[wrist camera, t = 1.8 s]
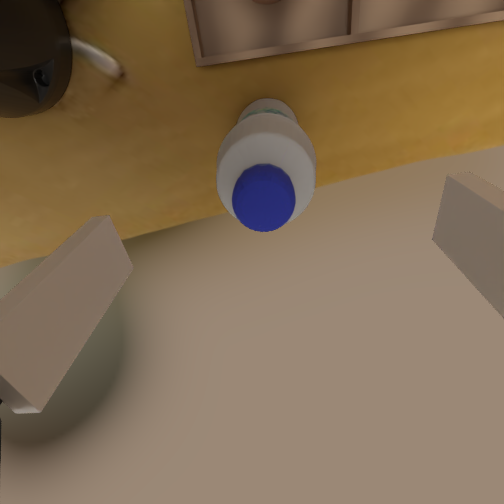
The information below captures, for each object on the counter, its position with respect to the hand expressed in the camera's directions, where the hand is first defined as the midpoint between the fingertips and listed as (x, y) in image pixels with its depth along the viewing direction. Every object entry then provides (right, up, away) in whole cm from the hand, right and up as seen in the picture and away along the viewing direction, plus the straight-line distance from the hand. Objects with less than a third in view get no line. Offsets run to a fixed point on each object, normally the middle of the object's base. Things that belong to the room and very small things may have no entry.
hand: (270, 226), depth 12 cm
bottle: (+1, +12, +19) cm, 23 cm away
